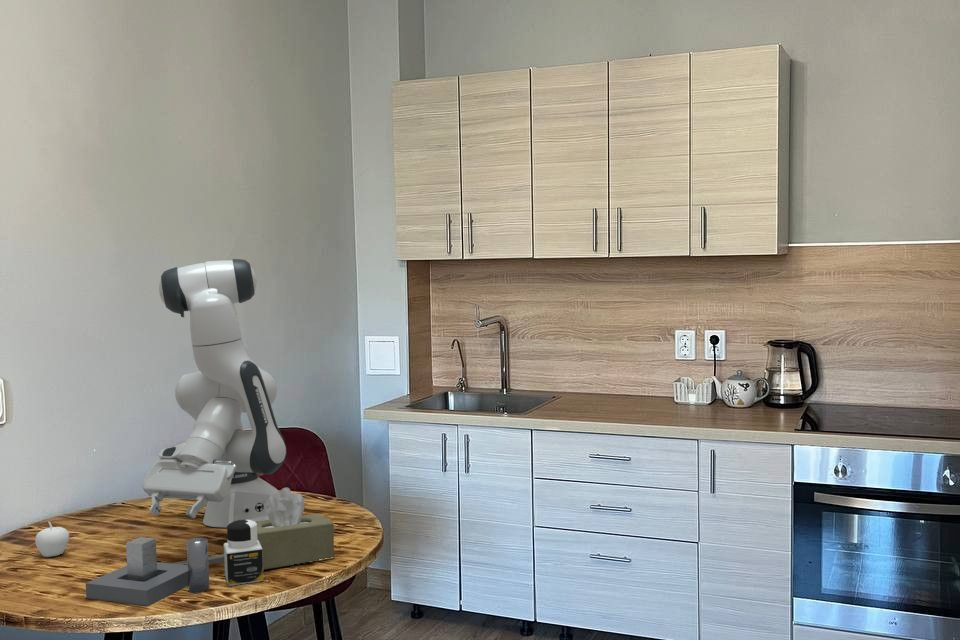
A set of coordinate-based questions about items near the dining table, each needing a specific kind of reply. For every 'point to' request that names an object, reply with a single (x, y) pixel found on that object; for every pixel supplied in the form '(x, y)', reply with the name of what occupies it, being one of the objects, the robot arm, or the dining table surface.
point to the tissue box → (293, 532)
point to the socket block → (138, 585)
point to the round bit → (198, 565)
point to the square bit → (141, 559)
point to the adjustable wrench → (210, 560)
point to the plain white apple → (52, 541)
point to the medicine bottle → (243, 553)
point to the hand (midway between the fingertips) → (171, 514)
